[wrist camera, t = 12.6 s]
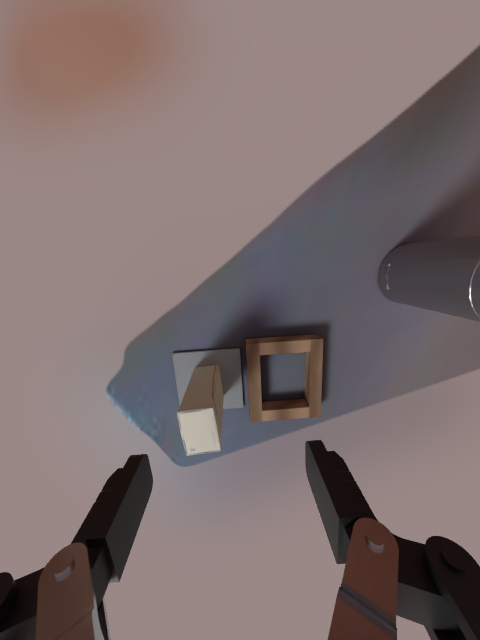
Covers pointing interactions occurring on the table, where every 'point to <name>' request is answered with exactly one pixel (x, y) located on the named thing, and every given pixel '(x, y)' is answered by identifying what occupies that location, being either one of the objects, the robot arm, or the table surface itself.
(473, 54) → the table surface
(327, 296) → the table surface
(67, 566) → the robot arm
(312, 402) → the frame
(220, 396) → the skincare box
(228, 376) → the slate mat
